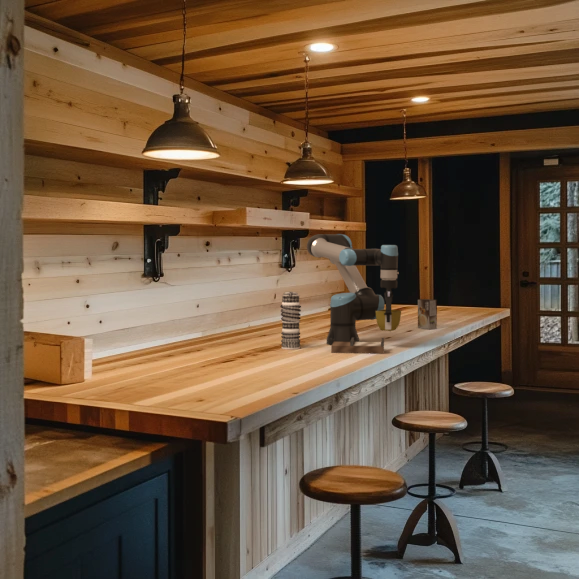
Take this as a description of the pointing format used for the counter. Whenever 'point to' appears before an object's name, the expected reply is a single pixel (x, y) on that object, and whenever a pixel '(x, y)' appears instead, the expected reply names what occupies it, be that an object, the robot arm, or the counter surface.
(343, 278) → the robot arm
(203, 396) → the counter surface
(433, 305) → the coffee box
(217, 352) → the counter surface
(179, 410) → the counter surface
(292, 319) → the decorative candle
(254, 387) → the counter surface
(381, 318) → the flower pot
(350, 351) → the dock
